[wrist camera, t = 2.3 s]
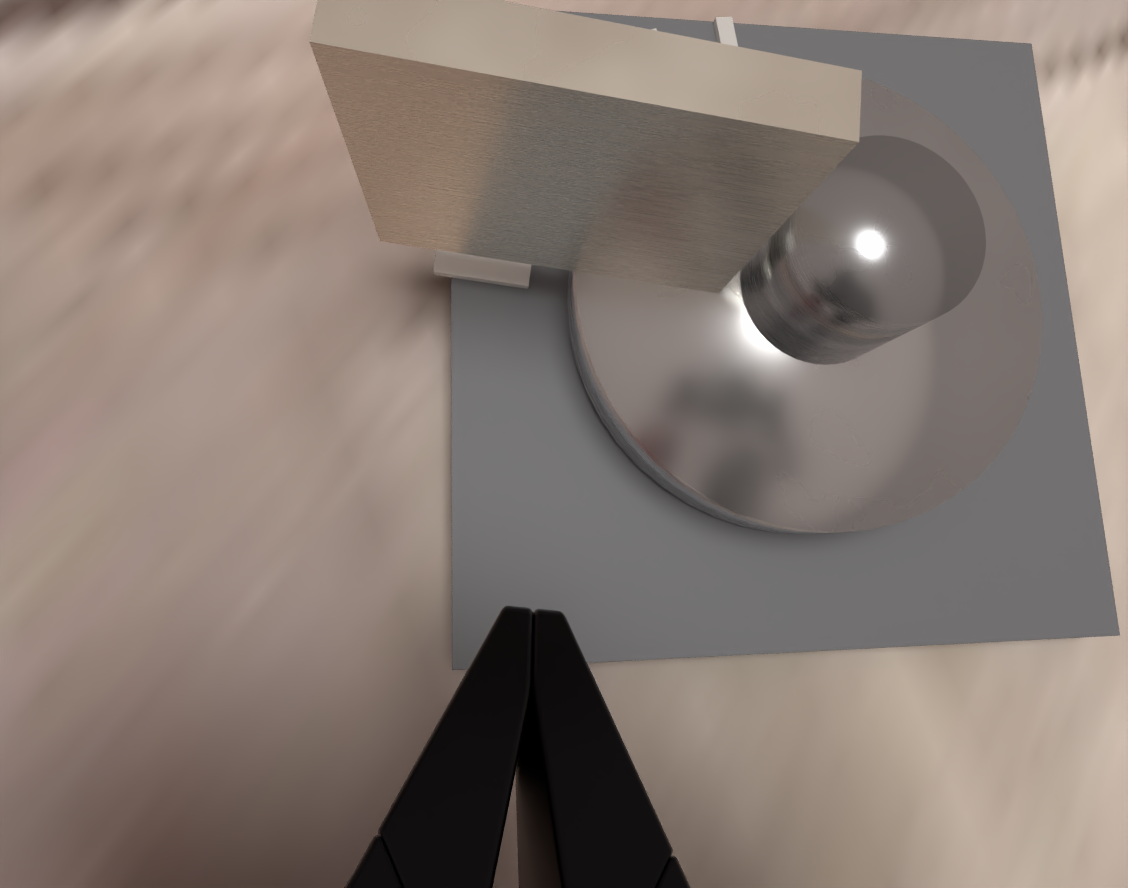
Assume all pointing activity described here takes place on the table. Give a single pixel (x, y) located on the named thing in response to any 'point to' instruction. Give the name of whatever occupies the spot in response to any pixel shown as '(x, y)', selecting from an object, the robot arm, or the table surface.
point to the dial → (711, 246)
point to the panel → (751, 556)
